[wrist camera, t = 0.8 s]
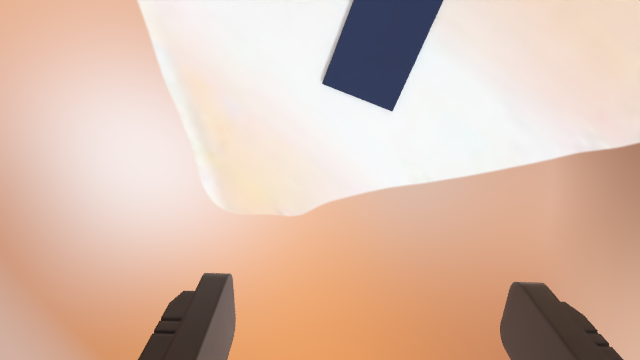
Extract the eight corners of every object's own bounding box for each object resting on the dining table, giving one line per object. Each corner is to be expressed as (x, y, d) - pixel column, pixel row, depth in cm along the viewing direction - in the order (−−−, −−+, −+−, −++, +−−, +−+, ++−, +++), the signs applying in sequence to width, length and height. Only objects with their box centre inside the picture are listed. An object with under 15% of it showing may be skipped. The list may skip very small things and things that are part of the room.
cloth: (397, -115, 30) (398, -116, 29) (477, -77, 30) (478, -77, 30) (322, 83, 35) (322, 83, 35) (391, 110, 36) (392, 111, 36)
